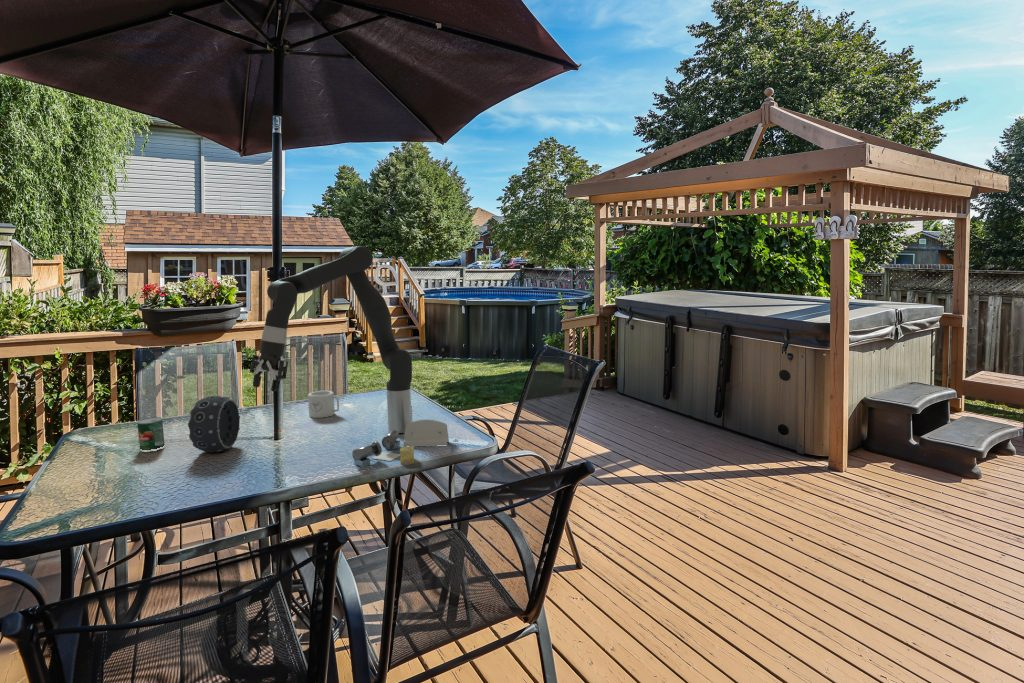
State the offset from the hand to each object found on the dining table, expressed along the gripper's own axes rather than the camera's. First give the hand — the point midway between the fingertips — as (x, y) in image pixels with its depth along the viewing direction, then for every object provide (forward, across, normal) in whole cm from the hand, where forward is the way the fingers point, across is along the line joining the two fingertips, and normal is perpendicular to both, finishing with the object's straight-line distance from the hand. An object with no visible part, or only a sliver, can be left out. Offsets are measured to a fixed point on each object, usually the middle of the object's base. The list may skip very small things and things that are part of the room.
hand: (265, 389), depth 196 cm
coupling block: (+17, -42, -28) cm, 53 cm away
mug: (+15, +27, -59) cm, 67 cm away
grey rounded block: (+13, -36, -46) cm, 60 cm away
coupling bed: (+18, -33, -28) cm, 46 cm away
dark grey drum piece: (+27, +28, -9) cm, 40 cm away
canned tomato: (+31, +51, 0) cm, 59 cm away
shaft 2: (+16, -29, -35) cm, 48 cm away
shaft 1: (+20, -30, -20) cm, 42 cm away
